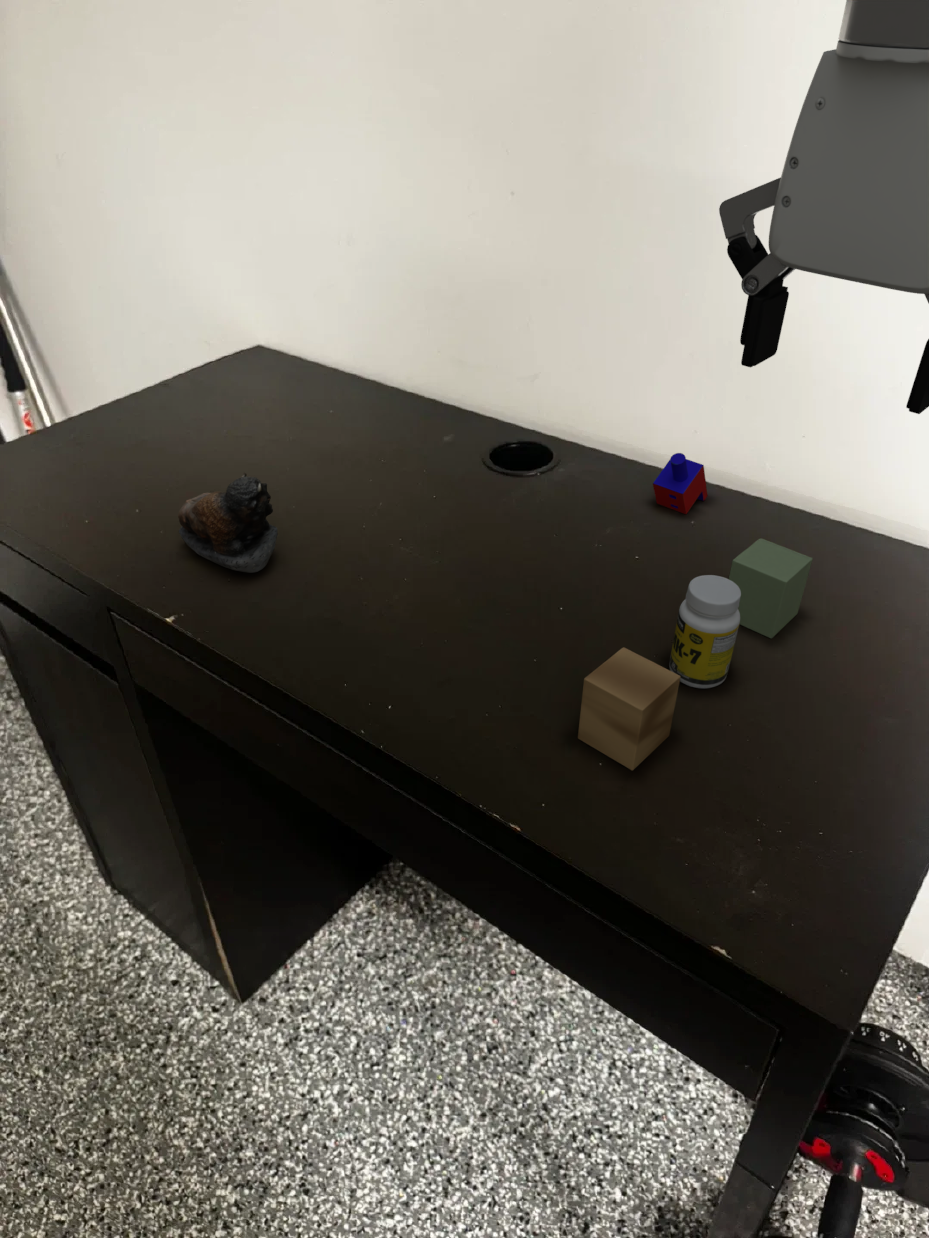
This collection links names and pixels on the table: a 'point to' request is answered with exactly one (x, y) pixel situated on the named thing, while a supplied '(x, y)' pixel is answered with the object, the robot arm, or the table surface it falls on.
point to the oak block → (627, 707)
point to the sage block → (769, 585)
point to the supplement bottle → (706, 631)
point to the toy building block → (680, 484)
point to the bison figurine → (231, 525)
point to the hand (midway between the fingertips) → (836, 381)
